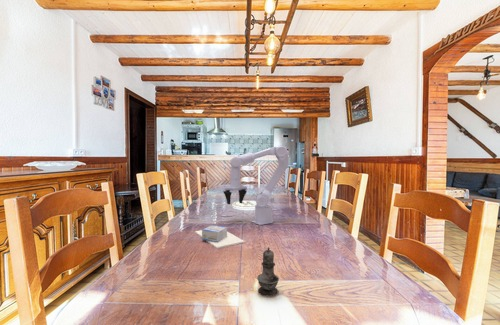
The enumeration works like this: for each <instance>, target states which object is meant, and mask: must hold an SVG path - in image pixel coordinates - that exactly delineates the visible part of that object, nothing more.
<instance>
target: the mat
mask: <svg viewBox="0 0 500 325" xmlns="http://www.w3.org/2000/svg"><path fill="white" fill-rule="evenodd" d="M202 230H203V229H200V230H195V231H194V233H195V234H196V235H197V236H199V237H200V238H202ZM205 241H206V242H207V243H208V244H210V245H211V246H213V247H214V248H215V249H222V248H226V247H231V246H235V245H240V244H244V243H246V241H245V240H243V239H242V238H241V237H238V236H236V235H234V234H233V233H231V232H230V231H227V237H225V238H224V239H222V240H221V241H219V242H214V241H207V240H205Z"/></svg>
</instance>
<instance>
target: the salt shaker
mask: <svg viewBox="0 0 500 325" xmlns="http://www.w3.org/2000/svg"><path fill="white" fill-rule="evenodd" d="M274 257H275V256H274V251H272V250H270V246H268V247H267V248H266V250H264V251H263V253H262V262H261V266H262V272H261V273H259V274H258V275H257V278H256V279H257V281H258V284H259V288H257V289H258V290H257V292H258V294H260V296H263V297H267V298H268V297H269V298H271V297H275V296H276V295H277V294H278V292H279V290H278V288H277V285H278V283H279V281H280V277H279V276H278V275H277V274H276V273H275V268H274V267H275V266H276V263H275V261H274V259H275V258H274Z"/></svg>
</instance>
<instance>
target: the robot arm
mask: <svg viewBox="0 0 500 325" xmlns="http://www.w3.org/2000/svg"><path fill="white" fill-rule="evenodd" d="M289 154H290V153H289V150H288V148H287V147H286V146H285V145H278V146H273V147H269V148H266V149H263V150H260V151H257V152H254V153H253V152H252V151H251V152H250V151H247V152H245V153H244V154H241V155H240V154H238V155H237V156H234V157H232V158H231V159H230V176H229V178H230V179H229V180H230V181H229V182H230V183H229V186H224V187H223V186H222V192H223V194H224V197H225V199H226V204H227V205H231V198H232V191H238V196H239V197H238V202H239V204H243V202H244V198H245V196H246V194H247V193H248V192H247V190H248V186H247V185H244V186H243V185H241V182H242V181H241V178H242V176H241V175H242V171H241V167H242V166H246V165H249V164H252V163H254V162H255V161H256V160H257V159H260V158H262V157H266V156H275V158H277V159H276V160H277V162H278V166H277V167H276V168H275V170H274V171H273V173H272V175H271V177H270V178H269V180H268V182H266V184H265V186H264V187H263V189H262V190H261V192H259V193H258V194H256V196H255V202H256V204H255V205H254V220H252V221H251V222H252V223H254V224H256V225H259V226H263V225H267V224H269V225H270V224H274V220H273V219H274V218H273V217H274V216H273V215H274V214H273V213H274V211H273V207H272V206H271V205H268V203H269V199H270V197H271V195H272V193H273V191H274V189H275V188H276V186H277V184H278V183H279V181H280V180H281V178H282V177H283V175H284V173H285V172H286V170H287V169H288V167H289V156H290V155H289Z"/></svg>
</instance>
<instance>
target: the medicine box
mask: <svg viewBox="0 0 500 325" xmlns="http://www.w3.org/2000/svg"><path fill="white" fill-rule="evenodd" d="M201 230H202V237H201V240H202V241H206V240H207V241H214V242H219V241H221V240H222V239H224V238H225V237H227V232H228V227H227V226H223V225H216V224H215V225H214V224H210V225H209V226H208V227H205V228H203V229H201ZM207 241H206V242H207Z"/></svg>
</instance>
